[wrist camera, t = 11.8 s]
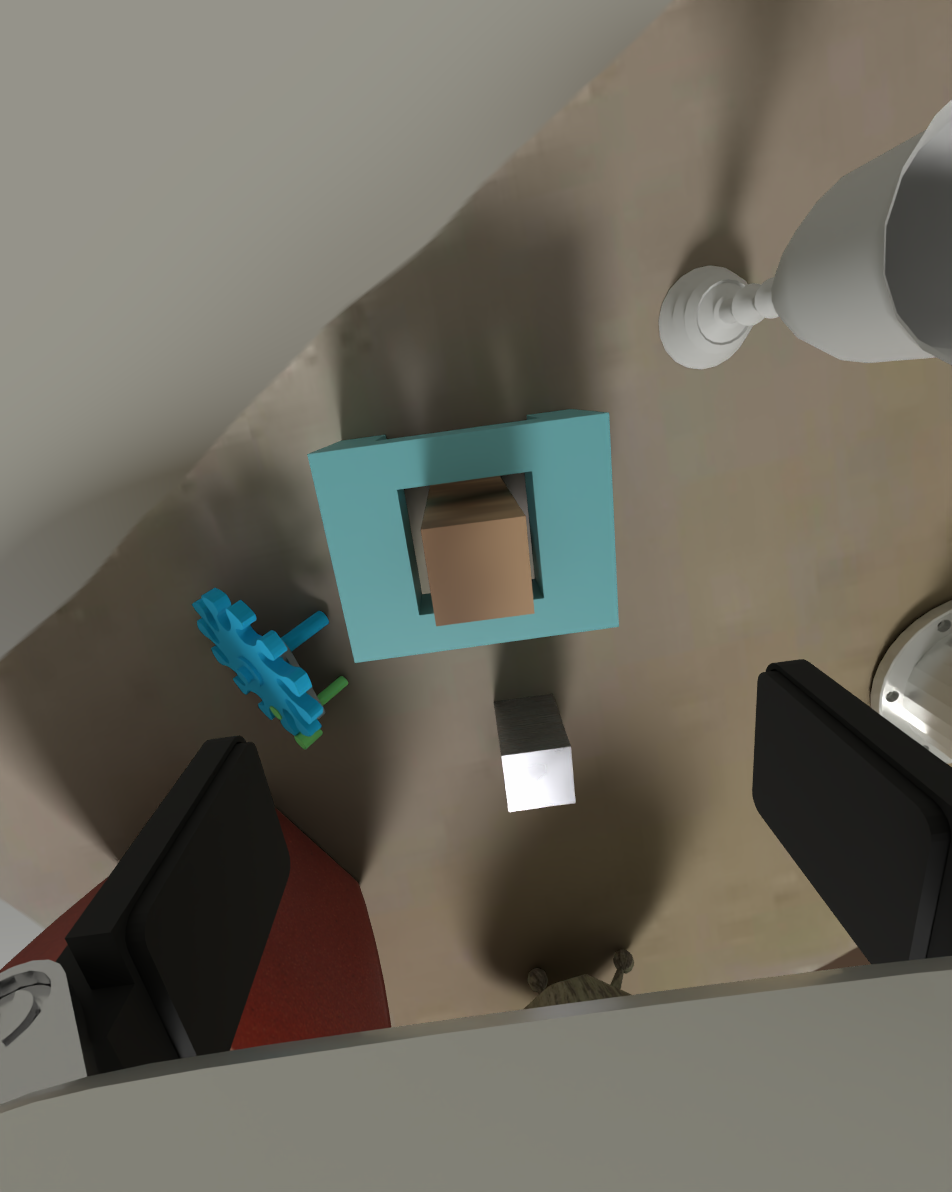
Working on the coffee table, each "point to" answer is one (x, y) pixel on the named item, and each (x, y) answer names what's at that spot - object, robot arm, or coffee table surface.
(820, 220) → the chalice
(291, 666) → the gear
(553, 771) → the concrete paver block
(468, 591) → the walnut pin
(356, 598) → the bridge block
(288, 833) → the plant pot
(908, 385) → the coffee table surface
